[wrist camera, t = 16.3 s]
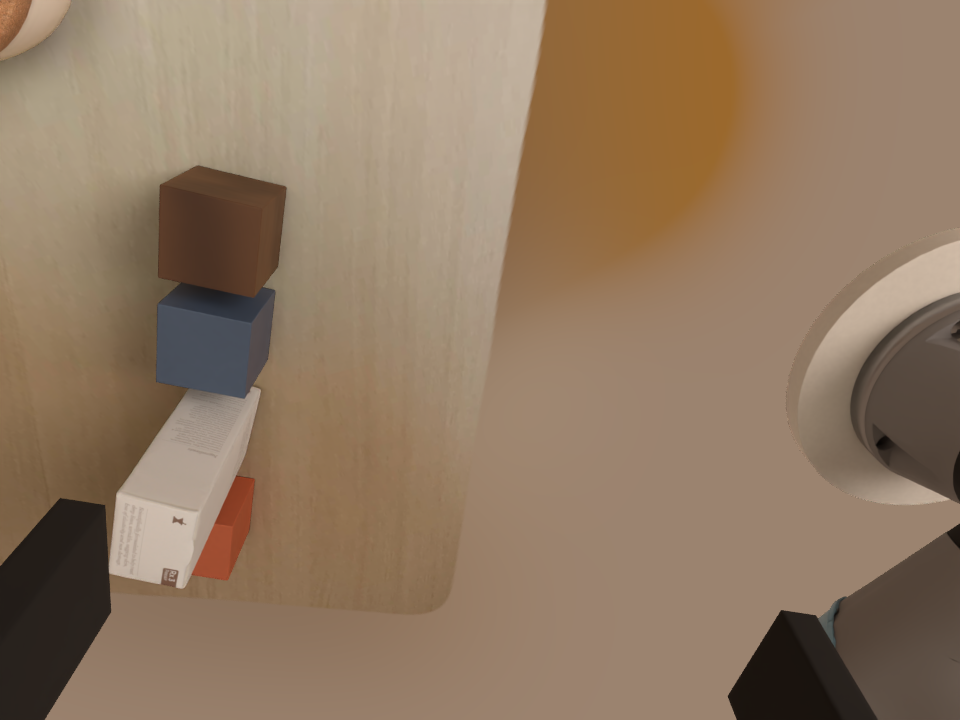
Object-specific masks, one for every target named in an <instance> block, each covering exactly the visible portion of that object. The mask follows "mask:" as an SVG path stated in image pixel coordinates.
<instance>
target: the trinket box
mask: <svg viewBox="0 0 960 720" xmlns="http://www.w3.org/2000/svg"><path fill="white" fill-rule="evenodd" d="M71 2H72V0H0V61H1V60H5V59H8V58H11V57H14V56H17V55H19V54H21V53H23V52H25V51H28V50H30V49H31V48H33V47H35V46H36V45H38V44H39V43H41V42H42V41H43V40H45V39H46V38H47V37H49V36H50V35H51V34H52V33H53V31H54V30H55V29H56V28H57V27H58V26H59V24H60V23H61V21H62V20H63V18H64V16H65V15H66V13H67V11H68V9H69V7H70V5H71Z"/></svg>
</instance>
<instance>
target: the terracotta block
mask: <svg viewBox="0 0 960 720" xmlns="http://www.w3.org/2000/svg"><path fill="white" fill-rule="evenodd" d="M254 482H255V479H251V478H245V477H240V476H236V477H235V479H234V481H233V483H232V486H231V488H230V490H229V492H228V494H227V497H226V499H225V501H224V503H223V506H222V508H221V510H220V512H219V515H218V517H217V519H216V521H215V523H214V526H213V528H212V530H211V532H210V535H209V537H208V539H207V541H206V544H205V546H204V548H203V550H202V552H201V555H200V557H199V559H198V561H197V563H196V566H195V568H194V570H193V572H192V574H191V575H195V576H202V577H208V578H215V579H221V580H228V579H229V576H230V574H231V572H232V569H233V567H234V565H235V562H236V560H237V558H238V555H239V553H240V551H241V548H242V546H243V544H244V541H245V539H246V536H247V534H248V532H249V528H250V519H251V509H252V500H253V491H254Z"/></svg>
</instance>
